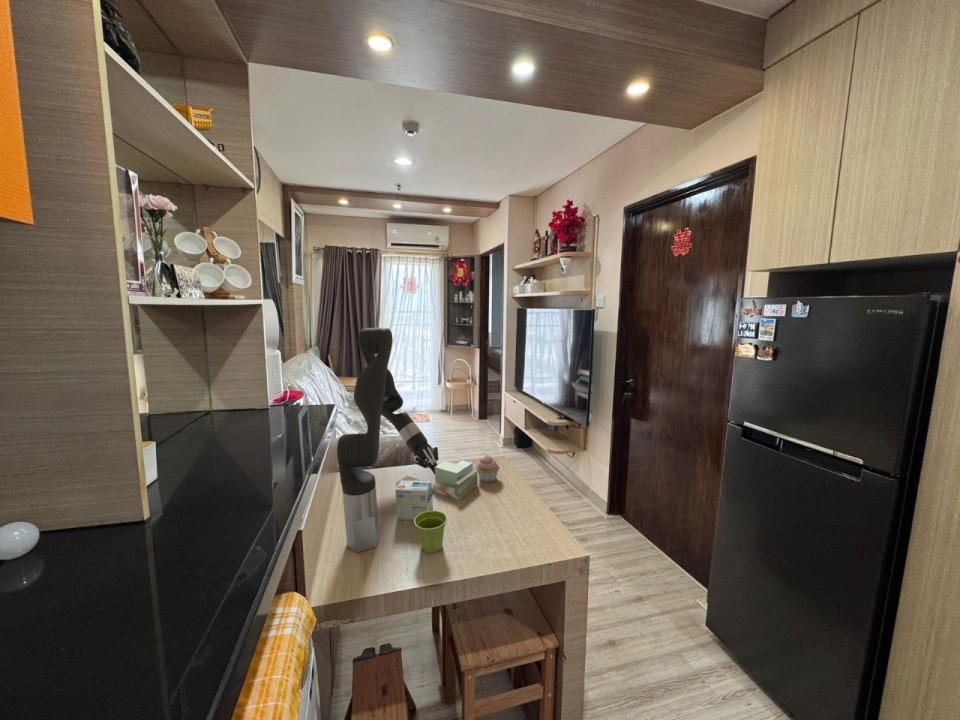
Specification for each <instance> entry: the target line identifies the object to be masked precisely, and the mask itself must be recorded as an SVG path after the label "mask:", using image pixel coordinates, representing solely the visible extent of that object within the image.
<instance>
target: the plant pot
mask: <svg viewBox="0 0 960 720" xmlns="http://www.w3.org/2000/svg"><path fill="white" fill-rule="evenodd" d="M447 521H448V517H447V514H445V513H444V512H443V511H439V510H433V511H426V512H423V513H420V514H418V515H417V516H416V517H415V519H414V520H413V524H414V526H415V528H416V530H417V533H418V534H417V535H418V539H419V544H420V548H421V550H422V551H423V552H424V553H427V554H433V553H436V552H437V551H441V549H442V547H443V541H444V533H445V527H446V523H447Z"/></svg>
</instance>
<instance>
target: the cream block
mask: <svg viewBox="0 0 960 720" xmlns="http://www.w3.org/2000/svg"><path fill="white" fill-rule="evenodd" d="M401 480H404V481H421V479H419V478H418V477H417V478H416V477H413V476H410V475H407V476H405V477H403V478H401V479H399V480H398V481H396V482H395V487H396V488H397V486H398V485H399V483H400V482H401ZM396 488H395V489H396Z"/></svg>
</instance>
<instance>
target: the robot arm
mask: <svg viewBox="0 0 960 720" xmlns="http://www.w3.org/2000/svg"><path fill="white" fill-rule="evenodd" d="M357 339H358V345H359V350H360V352H361V354H362V357H363V359H364V360H365V363H366V367H365V368H364V369H363V370H362V371H361V372H360V373H359V375H358V376H357V379H356V382H355V386H354V390H353V391H354V392H353V400H354V403H355V405H356V406H357V408H358V410H359V412H360V413H361V415H362V416H363V418H364V421H365V423H366V426H367V431H366V432H365V433H346V434H342V435H340V437H339V438H338V441H337V443H336V458H337V464H338V471H339V479H340V484H341V489H342V501H343V511H344V512H343V514H344V524H345V534H346V535H345V536H346V545H347V547H348V548H349V549H350V550H351V551H354V552H355V554H357V553H360V552H363V551H367V550H370V549H372V548H376V547H378V543H379V542H380V527H379V513H378V502H377V501H378V500H377V488H376V486H377V485H376V484H377V483H376V477H375V475H374V474H373V473H372V472H369V471H366V470H364V469H361V468H367V467H373V466H374V465H375V464H376V462H377V460H378V457H379V449H380V446H379V445H380V434H381V433H380V432H381V419H382V418H381V417H384V418H385V419H386V420H387V421H388V422H390V423H391V425H393V427H394V428H395V429H396V431H397V432H398V434H399V435H400V437H401V439H402V440H403V442H404V444H405V445H406V446H407V448H408V449H409V451H410V452H411V453H413V456H414V459H413V460H412V462H413V464H415V465H417V466H419V467H421V468H423V469H427V468H429V469H430V470H431V471H432V473H433V474H434V475H435V467H436V466H437V465H438V463H437V462H438V461H439V449H438V447H437V446H435V447H433V446H431V445H430V444H429V443H428V439H427V437H426V436H425V435H424V433H423V432H422V430H421V429H420V428H419V426H418V425H417V424H416V423H415V422H414V420H413V419H412V418H411V416H410V414H408V412H406V411H402V412H400V413H394V412H396V411H398V410H400V409H401V408H402V407H403V406H404V405H403V404H404V399H403V397H402V396H401V395H400V393H399V392H398V390H397V388H396V384H395V379H394V376H393V374H392V372H391V371H390V370H389V369H388V366H389V361H390V356H391V354H392V349H393V332H392V330H391V329H390V328H388V327H385V326H384V327H367V328H362V329H360V330H359V333H358V338H357Z"/></svg>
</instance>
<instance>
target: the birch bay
mask: <svg viewBox="0 0 960 720" xmlns="http://www.w3.org/2000/svg"><path fill="white" fill-rule="evenodd" d="M477 485H478V471H477V469H473V471H471V472H470V473H469V474H467V475H466V476H464V477H463V478H462V479H460V480H459V481H457V482H456V483H455V488H452V487H449V486H446V485H443V484H439V483H436V482H435V483H434V484H433V487H434V488H433V490H434V491H435V492H434V491H433V492H434V493H436V492H438V493H437V494H439V493H441V494H440V495H442V494H444V495H443V496H445V495H447V496H446V497H448V496H450V497H449V498H451V497H452V498H451V499H454V498H455V499H454V500H457V501H460V500H462V498H463V496H464V497H465V496H466V495H467V494H469V493H470V492H471V491H473V490H474V489H475V488H476V487H478V486H477ZM474 487H475V488H474ZM473 488H474V489H473ZM472 489H473V490H472ZM469 491H470V492H469ZM468 492H469V493H468ZM459 499H460V500H459Z"/></svg>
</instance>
